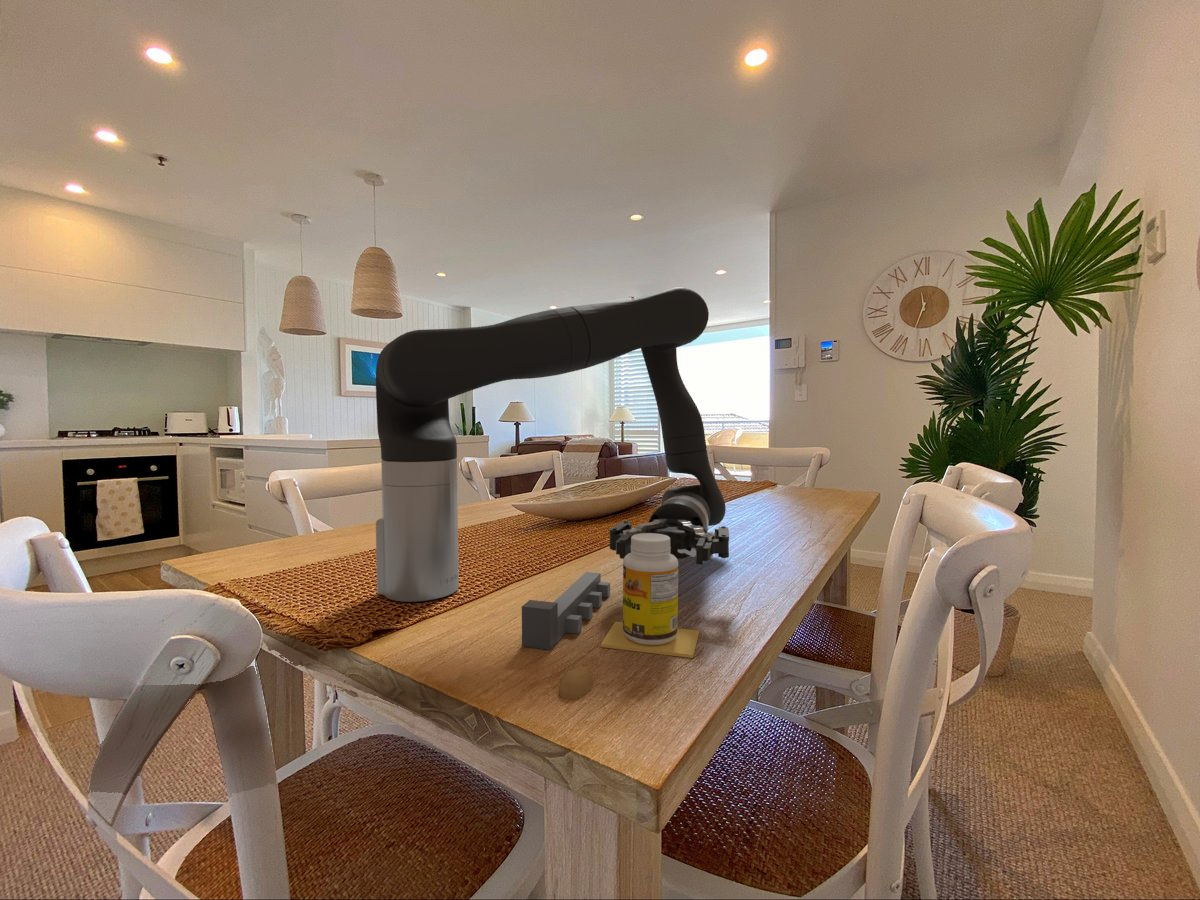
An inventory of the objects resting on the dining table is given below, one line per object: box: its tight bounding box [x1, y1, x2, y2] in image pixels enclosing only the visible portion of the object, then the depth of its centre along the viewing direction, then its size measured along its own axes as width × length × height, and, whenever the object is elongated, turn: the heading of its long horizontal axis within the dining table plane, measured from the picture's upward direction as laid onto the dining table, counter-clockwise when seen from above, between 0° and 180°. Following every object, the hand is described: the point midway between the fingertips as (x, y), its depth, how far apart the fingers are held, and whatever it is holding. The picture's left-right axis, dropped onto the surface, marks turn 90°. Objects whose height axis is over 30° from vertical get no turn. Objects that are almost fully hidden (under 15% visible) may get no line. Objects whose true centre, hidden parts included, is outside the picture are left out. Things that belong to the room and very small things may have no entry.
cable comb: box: [521, 571, 611, 651], centre depth 60 cm, size 4×18×4 cm, turn 164°
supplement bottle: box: [622, 533, 679, 645], centre depth 53 cm, size 6×6×10 cm
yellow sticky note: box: [600, 621, 700, 659], centre depth 53 cm, size 9×6×1 cm, turn 74°
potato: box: [558, 665, 594, 700], centre depth 44 cm, size 3×4×2 cm, turn 157°
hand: (660, 552), depth 58 cm, fingers open, 8 cm apart
